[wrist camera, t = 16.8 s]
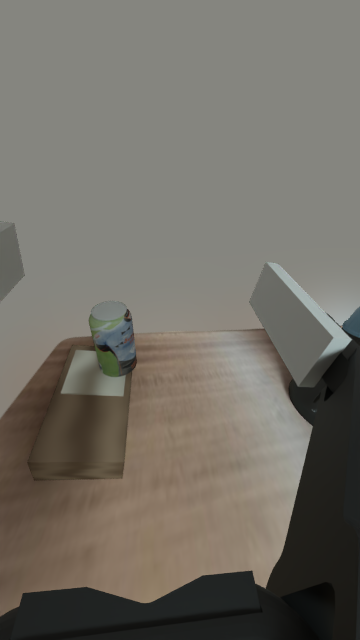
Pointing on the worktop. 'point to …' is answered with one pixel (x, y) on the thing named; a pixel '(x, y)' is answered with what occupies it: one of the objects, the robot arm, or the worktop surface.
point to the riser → (83, 423)
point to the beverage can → (113, 338)
